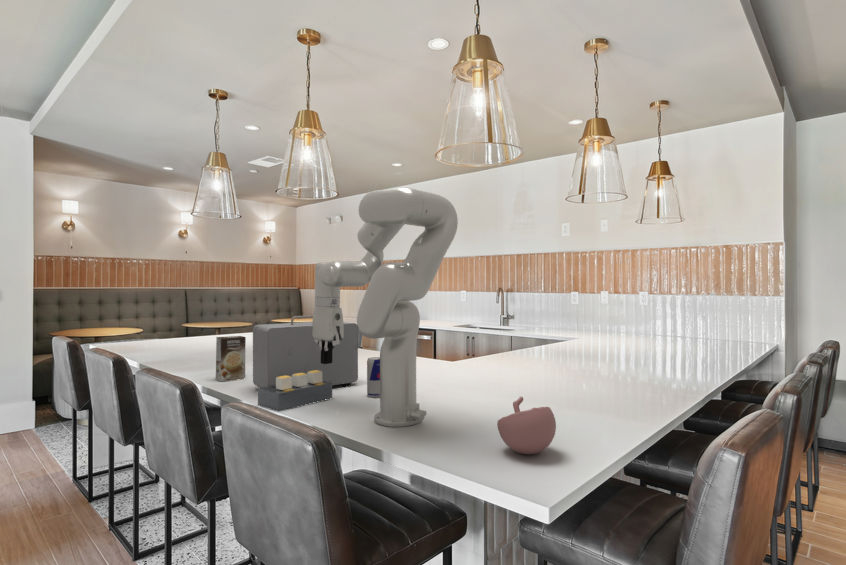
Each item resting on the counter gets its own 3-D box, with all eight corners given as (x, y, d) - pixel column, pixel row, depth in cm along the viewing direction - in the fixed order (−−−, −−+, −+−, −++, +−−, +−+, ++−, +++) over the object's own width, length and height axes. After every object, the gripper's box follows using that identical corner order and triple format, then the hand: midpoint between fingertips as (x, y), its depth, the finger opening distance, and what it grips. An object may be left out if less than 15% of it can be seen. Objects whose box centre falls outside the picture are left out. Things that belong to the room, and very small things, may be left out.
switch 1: (291, 388, 137) (291, 376, 137) (281, 390, 134) (281, 378, 134) (286, 386, 139) (286, 375, 139) (276, 388, 136) (275, 377, 136)
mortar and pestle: (529, 439, 106) (529, 389, 106) (568, 456, 96) (568, 400, 96) (486, 448, 101) (486, 395, 101) (523, 467, 90) (522, 408, 90)
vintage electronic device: (335, 377, 180) (335, 312, 180) (358, 385, 165) (357, 314, 165) (251, 388, 161) (251, 316, 161) (267, 398, 146) (267, 319, 147)
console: (332, 398, 146) (332, 381, 146) (278, 411, 131) (278, 392, 131) (310, 393, 153) (310, 377, 153) (257, 405, 138) (257, 387, 138)
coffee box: (220, 382, 171) (220, 338, 171) (215, 379, 176) (215, 337, 176) (245, 378, 177) (245, 336, 177) (240, 376, 182) (240, 335, 182)
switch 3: (322, 381, 145) (322, 371, 145) (313, 383, 143) (313, 372, 143) (316, 380, 147) (316, 369, 147) (307, 382, 145) (307, 371, 145)
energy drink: (383, 398, 146) (382, 359, 146) (366, 398, 146) (365, 359, 147) (384, 394, 152) (384, 357, 152) (368, 394, 152) (368, 357, 152)
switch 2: (307, 384, 141) (307, 373, 141) (298, 386, 139) (298, 375, 139) (301, 383, 143) (301, 372, 143) (292, 385, 140) (292, 374, 141)
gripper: (353, 303, 139) (352, 365, 139) (322, 301, 149) (321, 358, 149) (333, 304, 133) (332, 368, 134) (302, 302, 143) (301, 361, 143)
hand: (326, 363), depth 141 cm, fingers closed
